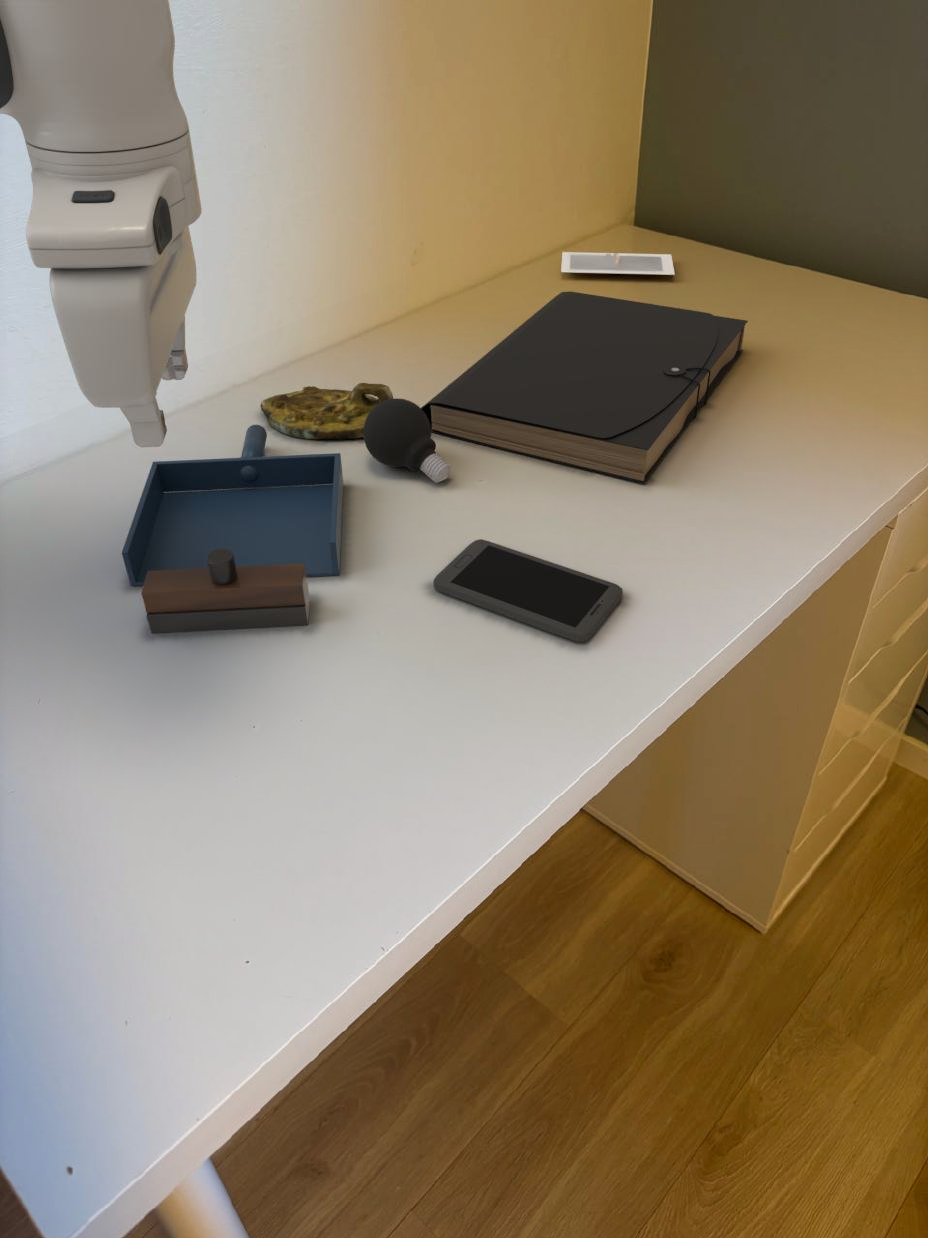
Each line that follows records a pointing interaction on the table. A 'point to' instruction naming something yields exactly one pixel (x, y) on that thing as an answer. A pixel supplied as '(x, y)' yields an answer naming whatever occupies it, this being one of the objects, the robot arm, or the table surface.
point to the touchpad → (617, 263)
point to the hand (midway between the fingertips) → (164, 406)
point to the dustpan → (239, 512)
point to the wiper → (226, 596)
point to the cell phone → (529, 589)
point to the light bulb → (403, 438)
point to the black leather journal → (592, 383)
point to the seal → (324, 411)
